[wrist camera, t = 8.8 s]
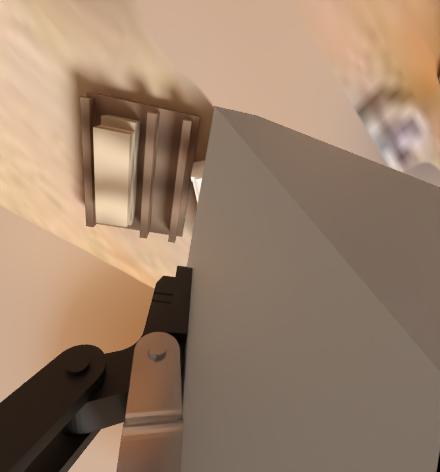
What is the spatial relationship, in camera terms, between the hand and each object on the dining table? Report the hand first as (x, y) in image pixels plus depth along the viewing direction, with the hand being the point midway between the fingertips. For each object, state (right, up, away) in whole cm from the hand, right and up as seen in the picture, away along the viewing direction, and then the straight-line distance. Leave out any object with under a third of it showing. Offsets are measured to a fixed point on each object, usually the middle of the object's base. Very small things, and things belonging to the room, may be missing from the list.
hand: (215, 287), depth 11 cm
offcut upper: (-13, +10, +22) cm, 28 cm away
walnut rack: (-11, +12, +26) cm, 31 cm away
